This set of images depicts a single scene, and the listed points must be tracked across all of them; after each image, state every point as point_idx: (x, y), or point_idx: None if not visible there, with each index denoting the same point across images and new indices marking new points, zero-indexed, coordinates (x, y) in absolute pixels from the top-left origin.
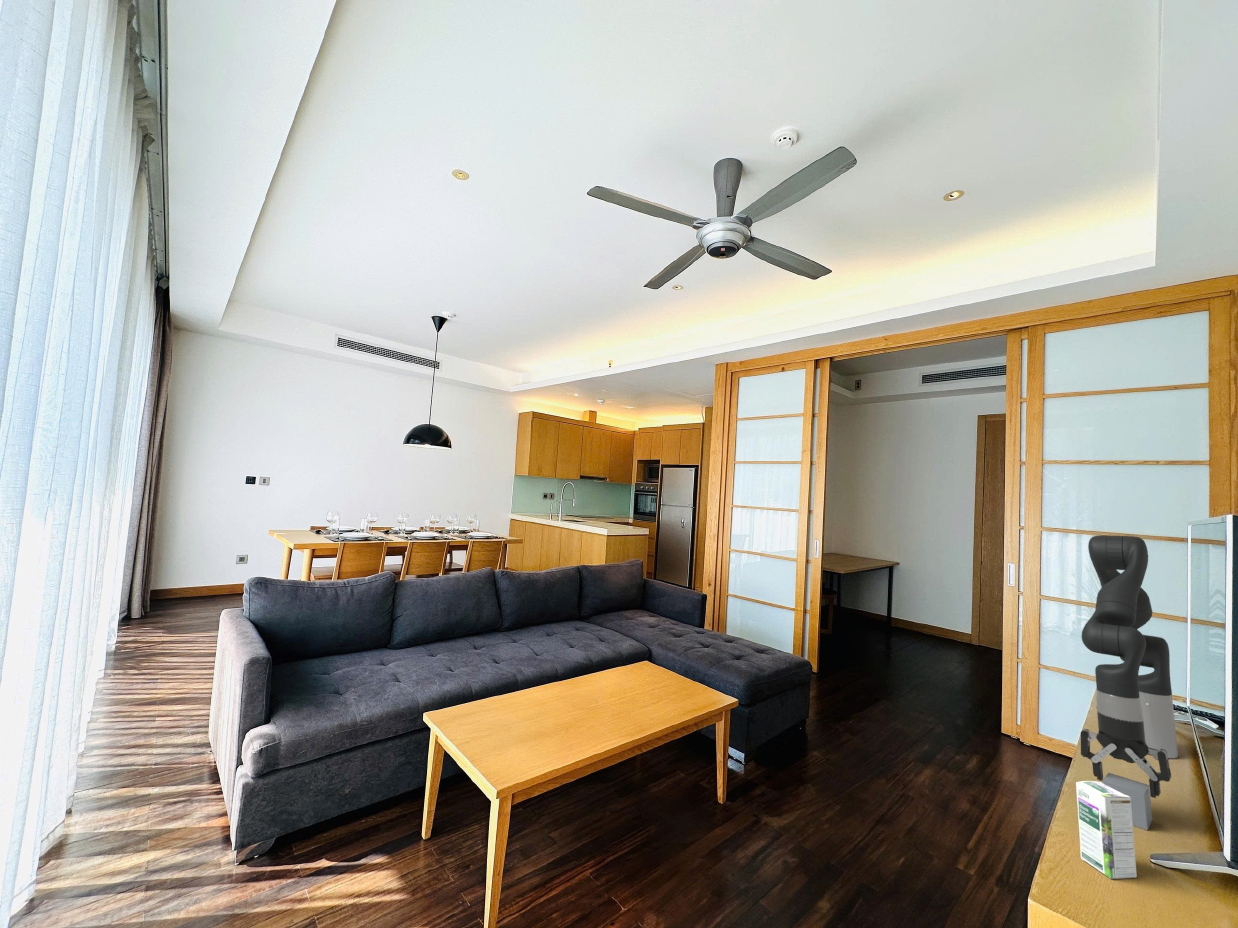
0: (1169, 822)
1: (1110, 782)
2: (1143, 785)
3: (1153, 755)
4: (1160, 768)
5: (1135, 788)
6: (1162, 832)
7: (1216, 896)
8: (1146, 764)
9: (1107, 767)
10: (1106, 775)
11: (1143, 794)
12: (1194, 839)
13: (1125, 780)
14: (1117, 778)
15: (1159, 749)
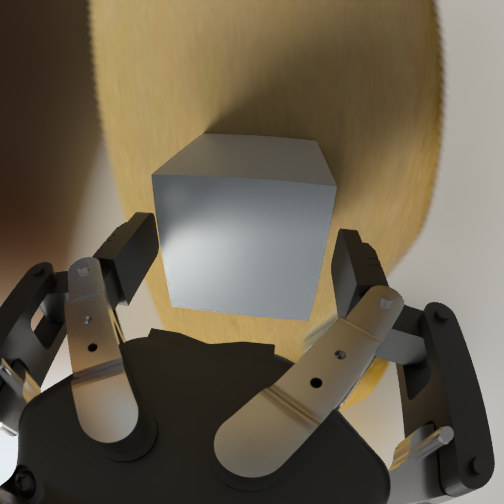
0: (360, 114)
1: (195, 299)
2: (311, 218)
3: (395, 464)
4: (403, 407)
5: (280, 290)
6: (337, 216)
7: (370, 379)
8: (344, 399)
9: None
10: (159, 229)
11: (306, 318)
12: (405, 193)
13: (234, 222)
14: (201, 228)
15: (458, 485)
